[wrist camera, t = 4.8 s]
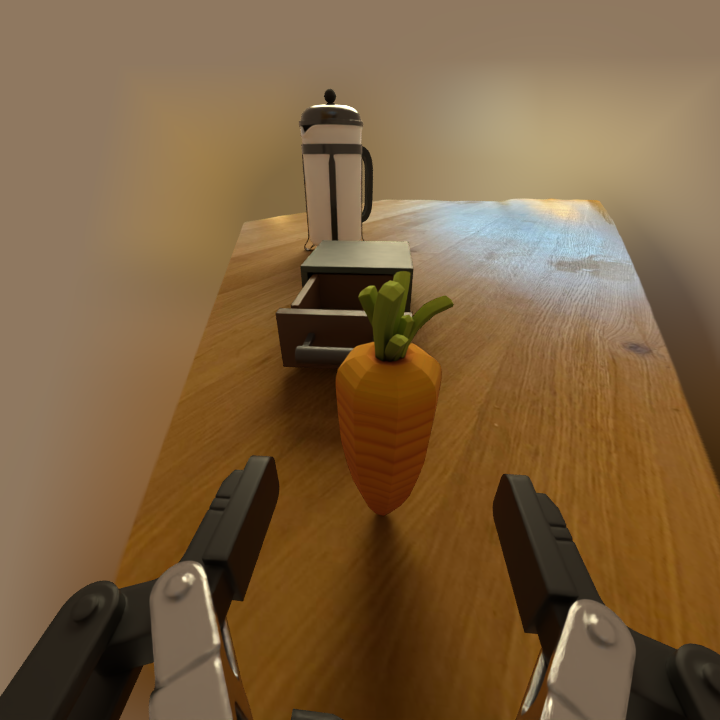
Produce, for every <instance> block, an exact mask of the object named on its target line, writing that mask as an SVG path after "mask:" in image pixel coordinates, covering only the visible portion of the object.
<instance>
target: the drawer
mask: <svg viewBox="0 0 720 720" xmlns="http://www.w3.org/2000/svg"><path fill="white" fill-rule="evenodd" d="M394 275H395V274H357V273H315V272H314V273H313V274H312V276H311V277H310V278H309V280H308V281H307V283H306V284H305V286H304V287H303V289H302V290H301V291H300V293H299V294H298V296H297V297H296V299H295V300H294V301H293V303H292V304H291V309H286V308H279V310H278V311H277V312H276V319H277V326H278V333H279V339H280V346H281V353H282V360H283V366H284V367H304V368H326V369H338V368H339V367H340V366H341V364H342V363H343V361H344V360H345V359H346V357H347V356H348V355H349V353H350V352H351V350H352V349H354V348H355V347H356V346H359V345H363V344H367V343H371V342H374V336H373V327H372V325H371V323H370V321H369V319H368V317H367V315H366V313H365V311H364V309H363V307H362V305H361V302H360V300H359V298H358V297H359V294H360V292H361V291H362V290H363V289H365V288H366V287H368V286H375V287H376V289H377V292H379V290H380V289H381V287H382V286H383V285H384V284H385V283H386V282H388V281H390V280H391V281H393V278H394ZM404 315H410V316H411V317H412V313H410V312H404Z"/></svg>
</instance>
